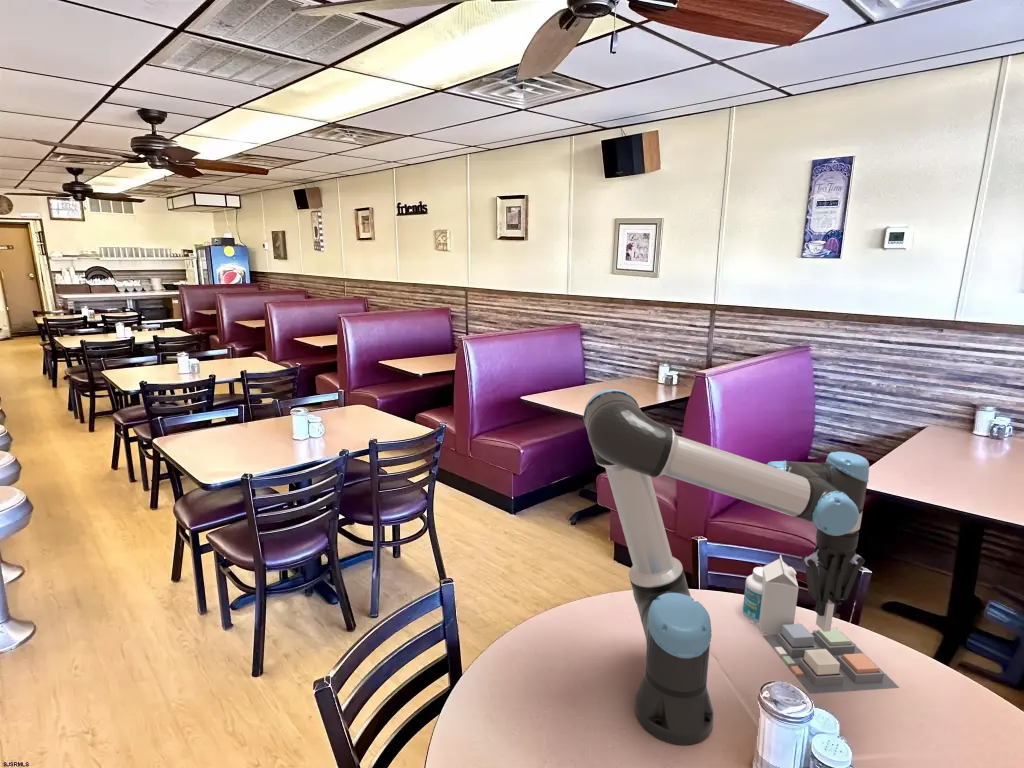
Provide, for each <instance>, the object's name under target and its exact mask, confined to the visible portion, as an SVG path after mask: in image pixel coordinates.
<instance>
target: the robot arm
mask: <svg viewBox="0 0 1024 768" xmlns="http://www.w3.org/2000/svg"><path fill="white" fill-rule="evenodd" d="M583 423H584V427H585V428H586V431H587V437H588V442H589V444H590V446H591V449H592V452H593V455H594V456H593V457H594V459H595V463H596V464H597V465H598V466H600V467H603V468H605V472H606V475H607V479H608V482H609V485H610V489H611V492H612V496H613V499H614V503H615V506H616V510H617V513H618V517H619V520H620V525H621V527H622V532H623V534H624V539H625V543H626V546H627V548H628V553H629V556H630V560H631V563H632V566H631V567H630V569H629V571H628V577H629V582H630V585H631V588H632V594H633V597H634V601H635V603H636V606H637V610H638V613H639V614H638V615H639V617H640V621H641V624H642V628H643V632H644V636H645V639H646V654H645V655H646V656H645V658H646V659H645V673H644V675H643V677H642V679H641V681H640V683H639V686H638V688H637V690H636V692H635V695H634V712H635V717H636V718H637V720H638V722H639V724H640V725H641V726H642V728H644V729H645V730H646V731H647V732H648V733H650V734H651V735H653V736H654V737H655V738H657V739H659V740H661V741H663V742H667V743H670V744H675V745H685V746H686V745H693V744H696V743H699V742H702V741H704V740H705V739H707V738H708V736H709V735H710V734H711V733H712V730H713V726H714V709H713V705H712V702H711V698H710V694H709V690H708V687H707V682H708V681H707V680H708V670H709V661H710V660H709V658H710V647H711V641H712V636H713V634H712V622H711V618H710V615H709V614H710V613H709V612H708V610H707V609H706V608H705V606H703V604H702V603H700V601H698V600H696V601H695V600H694V597H692V596H691V593H690V590H689V586H688V582H687V579H686V574H685V572H684V567H683V564H682V562H681V561H680V560H679V559H677V558H676V557H674V556H673V554H672V551H671V547H670V543H669V540H668V537H667V533H666V529H665V525H664V521H663V517H662V513H661V510H660V506H659V502H658V499H657V498H658V497H657V495H656V492H655V488H654V487H655V486H654V484H653V480H652V478H655V479H658V478H660V477H662V476H663V475H664V476H667V477H670V478H674V479H676V480H679V481H682V482H685V483H688V484H691V485H695V486H697V487H701V488H703V489H707V490H710V491H713V492H716V493H719V494H723V495H726V496H728V497H732V498H734V499H737V500H738V499H739V500H741V501H745V502H747V503H751V504H753V505H756V506H760V507H762V508H765V509H770V510H772V511H775V512H778V513H782V514H784V515H787V516H791V517H793V518H796V519H799V520H803V521H805V522H808V523H811V524H813V526H814V527H815V528H816V535H815V540H816V546H815V547H814V549H813V553H812V554H809V555H807V554H804V555H803V556H802V557H801V559H802V562H803V563H804V565H805V571H806V572H805V574H806V583H807V592H808V595H810V597H811V598H813V599H814V600H815V601H816V603H815V609H814V612H815V613H816V621H815V625H816V626H818V629H822V630H823V631H824V632H828V631H830V630H831V628H832V622H833V616H835V615H836V613H837V607H838V606H841V605H842V603H843V602H842V601H841V600H843V601H846V600H847V599H848V598H849V597H850V596H849V595H850V593H851V591H852V588H853V586H854V583H855V581H856V578H857V576H858V574H859V570H860V569H861V568H862V567H863V565H864V564H865V562H866V559H864V558H863V557H862V556H860V555H859V554H858V553H856V549H857V548H858V545H859V544H858V543H859V535H860V532H859V530H860V529H861V524H862V517H863V512H864V511H863V510H864V505H865V500H866V493H867V488H868V483H869V474H870V463H869V460H867V458H865V457H864V456H862V455H860V454H856V453H854V452H853V453H852V452H848V451H831V452H830V453H829V454H828V455H827V457H826V460H825V462H807V461H806V462H805V461H787V460H780V461H776V460H775V461H773V460H772V461H769V462H768V463H767V464H766V463H762V462H759V461H757V460H753V459H750V458H746V457H743V456H741V455H737V454H735V453H732V452H729V451H725V450H723V449H719V448H716V447H714V446H710V445H707V444H704V443H702V442H699V441H695V440H692V439H690V438H687V437H683V436H680V435H677V434H676V432H675V430H674V428H672V427H670V426H667V425H665V424H661V423H659V422H657V421H655V420H653V419H652V418H650V417H649V416H647V415H646V414H645V413H644V412H643V411H642V410H641V408H640V406H639V403H638V402H637V399H635V398H634V396H632V395H631V394H629V393H627V392H625V391H623V390H620V389H615V388H611V389H604V390H601V391H599V392H597V393H595V394H594V395H592V397H591V398H590V399H589V400H588V401H587V403H586V405H585V408H584V411H583Z"/></svg>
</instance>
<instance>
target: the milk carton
mask: <svg viewBox="0 0 1024 768" xmlns="http://www.w3.org/2000/svg"><path fill="white" fill-rule="evenodd" d="M762 567H763V582H762V586H763V590H762V599H761V608H760V616H759V623H758V626H759V633H762V634H766V635H767V634H768V635H777V633H779V632H782V625H789V624H795V617H796V609H797V604H798V603H797V602H798V596H799V595H798V594H799V585H798V580H797V578H796V575H797V571H796V570H795V568H793V567H792V566H789V565H788V564H787V563H786V562H784V560H783V558H782V554H780V555H779V558H778V559H776V560H774V561H772V562H769V563H768V564H766V565H764V566H762Z"/></svg>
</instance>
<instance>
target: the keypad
mask: <svg viewBox="0 0 1024 768" xmlns="http://www.w3.org/2000/svg"><path fill="white" fill-rule="evenodd" d="M810 633H811V634H812V635H813V636H814V643H813V646H806V647H792V645H791V644H790V643H789V642H788V641H787V640H786V639H785V637H784V636H783V635H782V632H779V633H777V635H772V634H768V635H767V634H764V635H762V637H763V638H764V640H765V641H766V642H767V643H768V645H769V646H770V647H771V648H772V649H773V651H774V653H776V654H777V656H778V657H779V658H780V659H781V661H782V662H783V663H784V664H785V665H786V667H787V668H788V669H789V670H790V671H791V673H792V674H793V676H794V677H795V678H796V679H797V680H798V681H799V683H800V684H801V685H802V686H803V688H804V689H805V690H806V691H807V692H808V694H810V695H811V694H824V693H825V694H827V693H838V692H840V693H841V692H842V693H843V692H855V691H868V690H869V691H870V690H871V691H873V690H885V689H886V690H888V689H900V686H899V685H898V684H897V683H895V682H894V681H893V679H891V677H890V676H889V675H887V673H885V672H884V671H883V670H882V669H881V668H880V667H879V666H878V665H877V664H876V663H875V662H873V663H874V664H875V665H876V666H877V667H878V668H879V670H878V673H865V674H856V673H855V672H854V671H853V670H852V669H851V667H850V666H849V665H848V664H847V663H846V662H845V661H844V660H843V659H842V657H843V654H858V653H864V652H863V651H862V650H861V649H860V648H859V646H857V645H856V644H855V643H854V642H853V641H852V640H851V639H850V638H848V639H849V640H850V641H851V642H850V645H846V646H829V645H828V644H827V643H826V642H825V641H824V640H823V639H822V638H821V637H820V636H819V635H818V634H817V633H818V629H815V630H812V632H810ZM815 649H826V650H827V651H828V652H829V653H830V654H831V655H832V656H833V657H834V658H835V659H836V660H837V661H838V662H839V663H840V667H839V674H825V675H817V674H816V673H815V672H814V671H813V670H812V668H811V667H810V666H809V665H808V664H807V663H806V661H805V660H804V655H805V650H815Z"/></svg>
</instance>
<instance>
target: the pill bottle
mask: <svg viewBox="0 0 1024 768" xmlns="http://www.w3.org/2000/svg"><path fill="white" fill-rule="evenodd" d="M763 567H764V566H756V567H754V568H753V570H752V574H750V575H748V576H747V578H746V579H745V587H744V593H743V594H744V595H743V604H742V612H741V613H742V616H744V618H746V619H747V620H749V621H751V622H754V623H756V624H759V616H760V608H761V599H762V590H763V586H762V582H763Z"/></svg>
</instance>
